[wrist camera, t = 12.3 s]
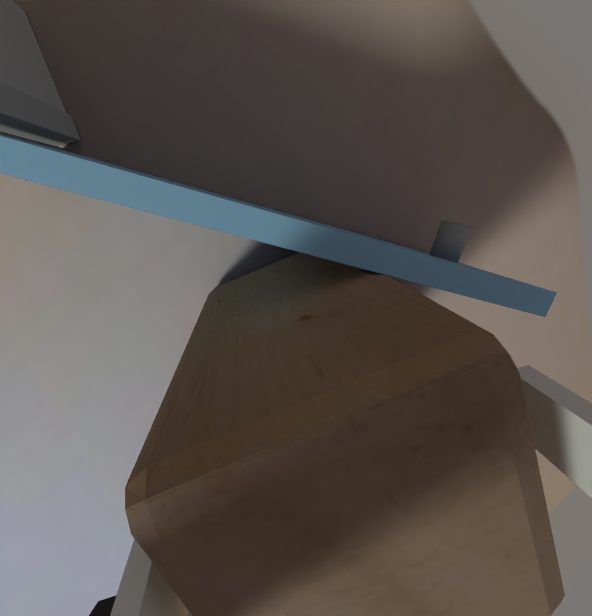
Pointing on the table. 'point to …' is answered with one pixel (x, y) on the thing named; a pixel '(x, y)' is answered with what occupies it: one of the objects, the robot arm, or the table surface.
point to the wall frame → (29, 86)
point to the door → (268, 224)
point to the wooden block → (343, 457)
